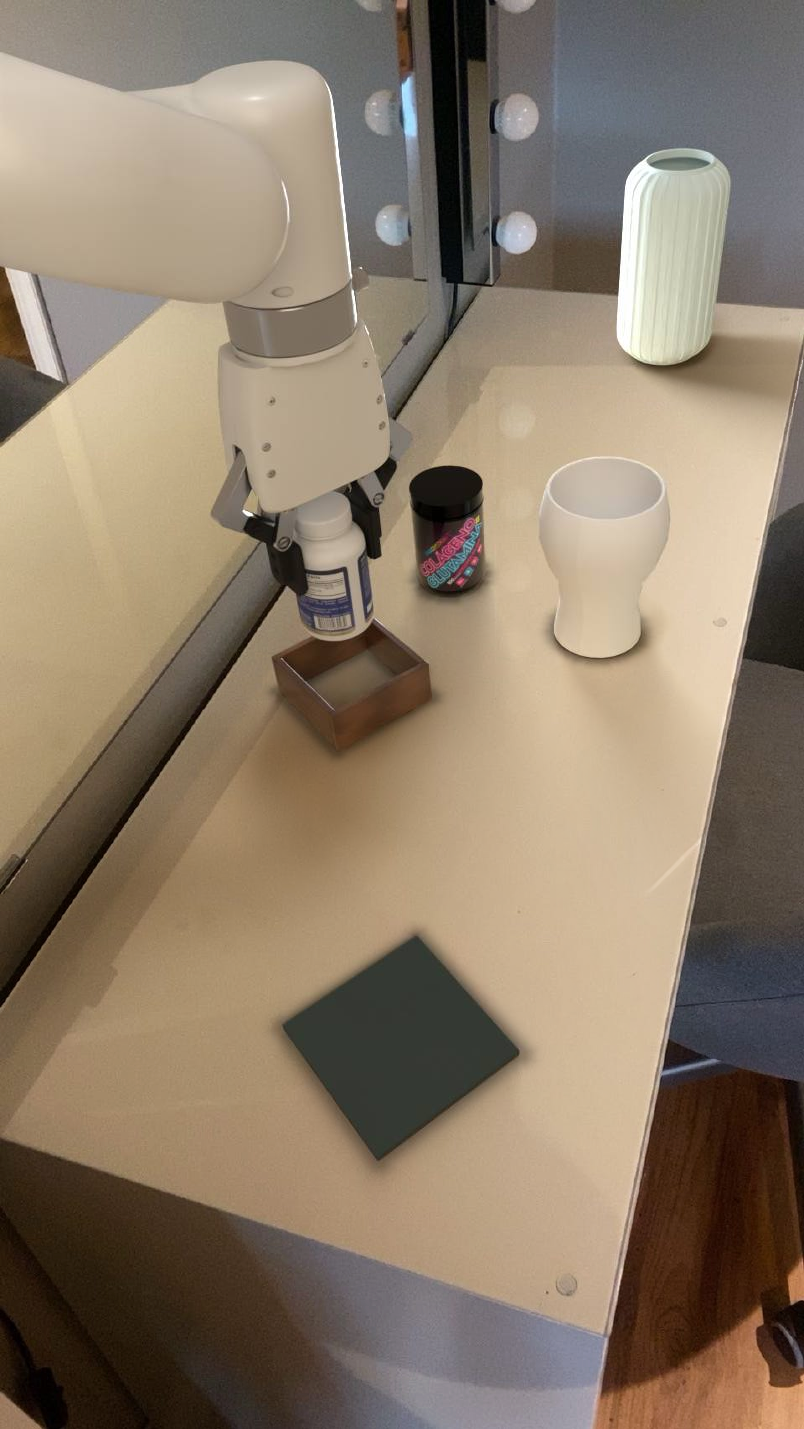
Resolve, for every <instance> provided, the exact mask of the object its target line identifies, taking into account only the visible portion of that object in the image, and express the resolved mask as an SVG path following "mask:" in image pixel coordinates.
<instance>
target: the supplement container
mask: <svg viewBox="0 0 804 1429" xmlns="http://www.w3.org/2000/svg"><path fill="white" fill-rule="evenodd" d="M408 492H409V493H408V494H409V506H410V511H411V521H412V531H413V532H412V533H413V543H414V545H413V546H414V554H415V564H416V575H417V576H416V577H417V580H418V582H419V583H420V584H421V586H422V587H423V588H424V589H426V590H427V591H429V592H431V593H433V594H435V595H439V596H445V597H454V596H460V595H464V594H465V595H466V594H467V593H469V592H471V591H473V590H474V589H476V588H477V587H478V586H480V584H481V583H482V582H483V580H484V578H485V575H486V572H487V571H486V567H487V566H486V544H485V542H486V541H485V512H484V500H485V496H484V481H483V479H482V476H481V475H480V474H479V473H477V472H476V470H473V469H471V468H468V467H465V466H460V465H452V464H449V465H438V466H434V467H430V468H427V469H424V470H422V471H421V472H419V473H418V474H416V475H415V476H414V477H413V478H411V480H410V482H409V485H408Z"/></svg>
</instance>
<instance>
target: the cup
mask: <svg viewBox="0 0 804 1429" xmlns="http://www.w3.org/2000/svg"><path fill="white" fill-rule="evenodd" d="M661 475H662V474H660V473H658V471H656V469H654V468H653V467H651V466H650V465H647V464H645V463H643V462H642V461H638V460H634V459H631V458H628V457H620V456H613V455H611V456H609V455H605V456H601V455H599V456H591V457H585V458H581V459H578V460H574V461H571V462H569V463H567V464H565V465H563V466H561V467H559V468H558V469H557V470H556V471H555V472H553V473H552V474H551V476H550V478H549V479H548V481H547V483H546V485H545V489H544V492H543V496H542V499H541V503H540V507H539V514H538V539H539V544H540V546H541V548H542V551H543V554H544V558H545V560H546V563H547V566H548V568H549V569H550V571H551V573H552V574H553V576H554V577H555V580H557V585H558V586H557V587H558V593H559V600H558V604H557V609H556V612H555V618H554V624H553V634H554V636H555V639H556V640H557V642H558V643H559V644H560V646H562V647H563V648H564V649H566V650H567V651H569V652H571V653H573V654H576V655H578V656H581V657H586V658H592V659H593V658H595V659H604V658H610V657H612V658H613V657H616V656H618V655H621V654H624V653H627V651H629V650H631V649H632V648H634V646H635V645H636V644H637V643H638V642H639V639H640V637H641V635H642V632H641V631H642V630H641V613H640V604H639V599H640V595H641V593H642V592H641V591H642V589H643V585H644V583H645V582H646V580H647V579H648V578H649V576H650V575H651V574H652V573H653V572H654V571H655V569H656V567H657V565H658V563H659V561H660V559H661V556H662V554H663V552H664V550H665V548H666V545H667V543H668V541H669V534H670V526H671V507H670V501H669V495H668V491H667V486H666V482H665V480H664V479H663V477H662V476H661Z"/></svg>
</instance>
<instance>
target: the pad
mask: <svg viewBox="0 0 804 1429" xmlns="http://www.w3.org/2000/svg"><path fill="white" fill-rule="evenodd" d="M281 1026H282V1029H283V1030H284V1032H285V1034H286V1035H287V1036H288V1038H289V1039H290V1040H291V1042H292V1043H293V1044H294V1046H295V1047H296V1048H297V1051H298V1052H300V1055H301V1056H302V1057H303V1058H304V1060H305V1061H306V1063H307V1064H308V1065H309V1067H310V1068H311V1070H312V1071H313V1072H314V1074H315V1075H316V1077H317V1078H318V1079H319V1081H320V1083H321V1084H322V1085H323V1087H324V1088H325V1090H326V1091H327V1092H328V1093H329V1095H330V1096H331V1098H332V1099H333V1100H334V1102H335V1103H336V1105H337V1106H338V1107H339V1109H340V1110H341V1111H342V1113H343V1114H344V1116H345V1118H346V1119H347V1120H348V1122H349V1123H350V1125H351V1126H352V1127H353V1128H354V1130H355V1131H356V1133H357V1134H358V1136H359V1137H360V1138H361V1140H362V1141H363V1143H364V1144H365V1145H366V1147H367V1148H368V1150H369V1151H370V1152H371V1154H372V1155H373V1156H374V1159H376V1161H380V1160H382V1159H383V1158H384V1157H385V1156H386V1155H388V1154H389V1153H390V1152H392V1151H393V1150H394V1149H396V1148H397V1147H399V1146H400V1145H401V1144H402V1143H404V1142H405V1141H406V1140H408V1139H409V1138H410V1137H412V1136H413V1135H415V1134H416V1133H417V1132H418V1131H419V1130H421V1129H422V1128H424V1127H425V1126H426V1125H427V1124H429V1123H430V1122H432V1121H433V1120H434V1119H436V1118H437V1117H438V1116H440V1115H441V1114H442V1113H444V1112H445V1111H446V1110H448V1109H449V1108H450V1107H451V1106H453V1105H454V1104H455V1103H457V1102H458V1101H459V1100H460V1099H462V1098H463V1097H464V1096H466V1095H468V1094H469V1093H470V1092H472V1091H473V1090H474V1089H475V1088H477V1087H479V1085H481V1084H482V1083H483V1082H485V1081H487V1079H489V1078H490V1077H491V1076H493V1075H494V1074H495V1073H497V1072H498V1071H500V1070H501V1069H502V1068H504V1066H506V1065H507V1064H509V1063H510V1062H511V1061H513V1060H514V1059H515V1058H517V1057H518V1056H519V1055H520V1049H519V1048H517V1046H516V1045H515V1044H514V1043H513V1041H512V1040H510V1037H508V1036H507V1035H506V1034H505V1033H504V1032H503V1030H502V1029H501V1028H500V1027H499V1026H498V1025H497V1024H496V1022H495V1021H494V1020H493V1019H492V1018H491V1017H490V1016H489V1015H488V1013H487V1012H486V1011H485V1010H484V1009H483V1008H482V1007H481V1006H480V1005H479V1003H478V1002H477V1001H476V1000H475V999H474V998H473V996H471V995H470V993H469V992H468V991H467V990H466V989H465V987H463V985H462V984H461V983H460V982H459V981H458V980H457V979H456V978H455V976H454V975H453V974H452V973H451V972H450V971H449V970H448V969H447V968H446V966H445V965H444V964H443V962H441V961H440V959H439V958H438V957H437V956H436V955H435V954H434V953H433V951H431V949H430V948H429V947H428V946H427V945H426V944H425V943H424V941H423V940H422V939H421V938H420V937H419V936H418V935H414V936H413V937H411V938H410V939H408V940H406V941H405V942H404V943H402V944H401V945H400V946H398V947H396V948H395V949H394V950H392V951H391V952H389V953H388V954H386V955H384V956H383V957H381V958H380V959H379V960H377V961H375V962H374V963H372V964H371V965H370V966H367V967H366V968H365V969H363V970H361V972H359V973H357V974H356V975H354V976H353V977H351V978H350V979H349V980H347V981H346V982H344V983H343V984H341V985H340V986H338V987H337V988H335V989H334V990H331V991H330V992H329V993H327V994H326V995H325V996H323V997H321V998H320V999H318V1000H317V1001H316V1002H314V1003H313V1004H311V1005H310V1006H308V1007H306V1008H305V1009H303V1010H302V1011H301V1012H299V1013H298V1014H296V1015H294V1016H293V1017H292V1018H290V1019H289V1020H287V1021H286V1022H283V1024H282V1025H281Z"/></svg>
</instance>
